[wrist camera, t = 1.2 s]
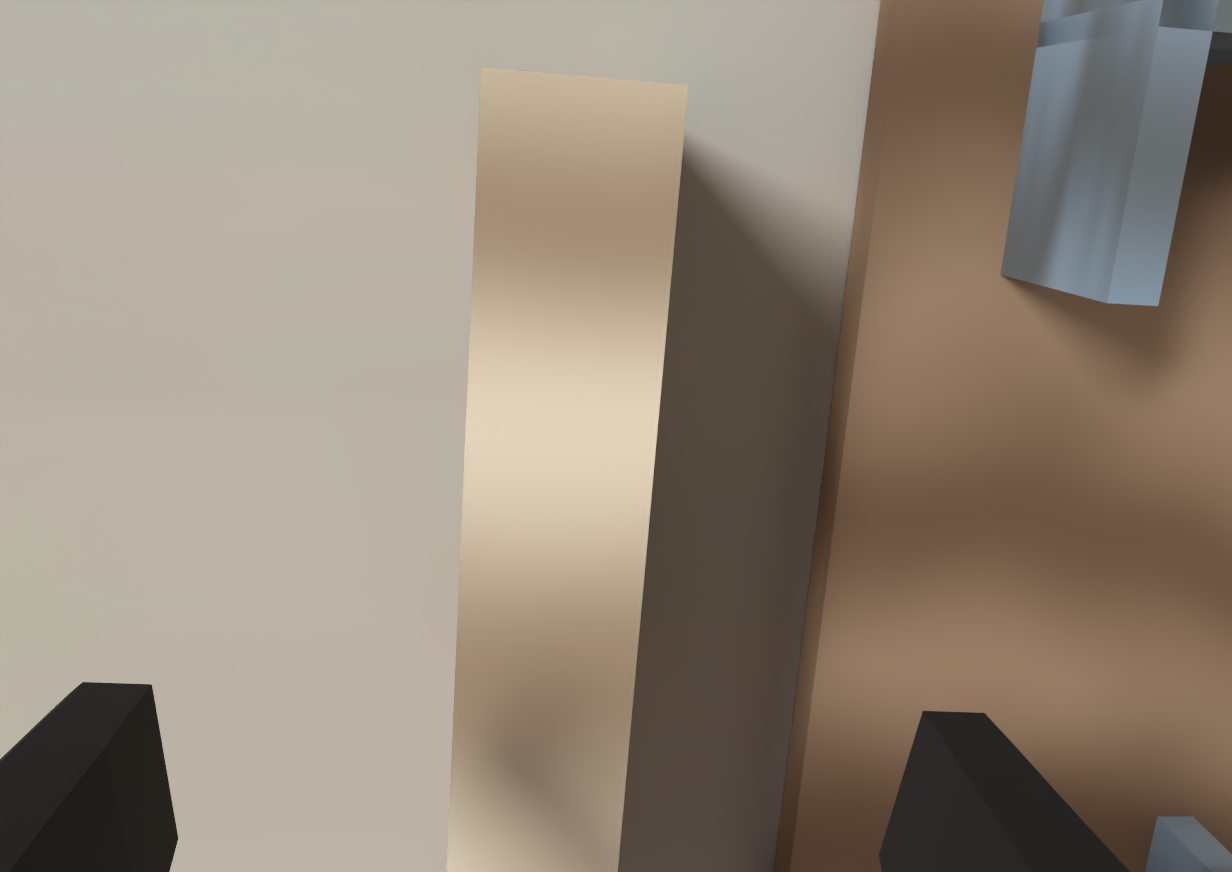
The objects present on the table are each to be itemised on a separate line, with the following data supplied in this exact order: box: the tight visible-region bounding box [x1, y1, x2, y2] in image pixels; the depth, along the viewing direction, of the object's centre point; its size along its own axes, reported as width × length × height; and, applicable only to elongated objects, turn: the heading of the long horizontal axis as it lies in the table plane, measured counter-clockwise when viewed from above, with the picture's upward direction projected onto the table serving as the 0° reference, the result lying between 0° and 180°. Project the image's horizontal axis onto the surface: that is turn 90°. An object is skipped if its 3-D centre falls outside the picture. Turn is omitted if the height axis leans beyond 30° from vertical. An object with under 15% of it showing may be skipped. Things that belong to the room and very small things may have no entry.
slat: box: [447, 67, 689, 872], centre depth 18 cm, size 16×2×6 cm, turn 175°
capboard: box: [774, 0, 1232, 872], centre depth 20 cm, size 21×11×4 cm, turn 176°
